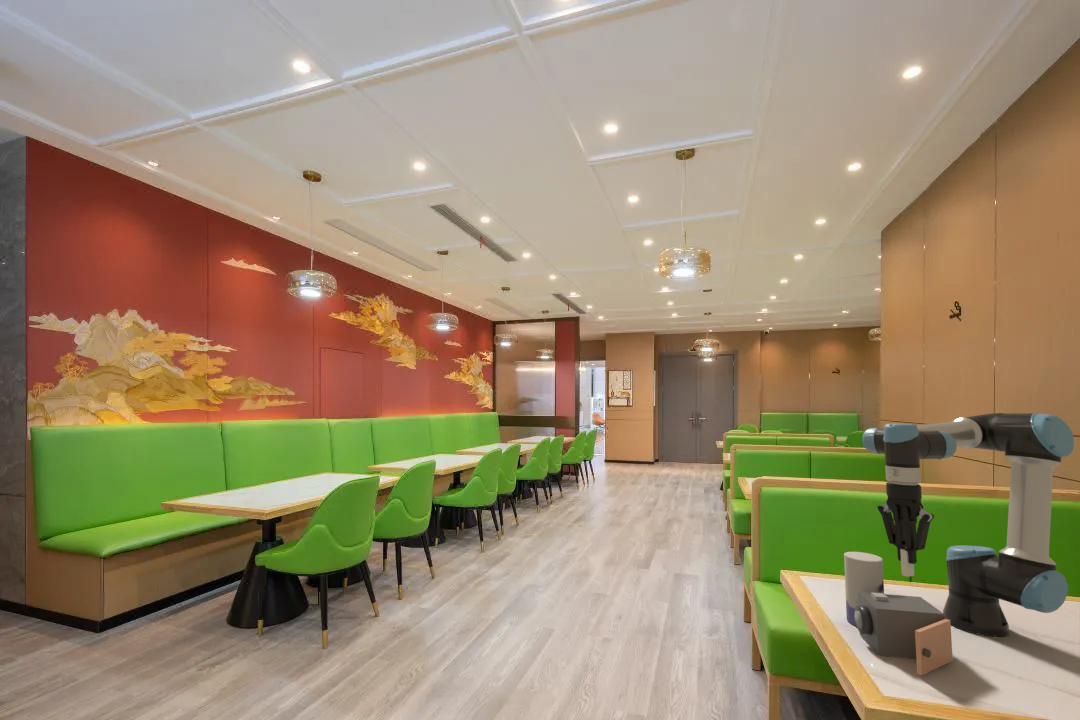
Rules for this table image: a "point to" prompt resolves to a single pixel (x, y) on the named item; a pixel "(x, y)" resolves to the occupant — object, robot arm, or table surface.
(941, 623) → the side door
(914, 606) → the dark gray knobbed box
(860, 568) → the container
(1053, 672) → the table surface
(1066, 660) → the table surface
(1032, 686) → the table surface
